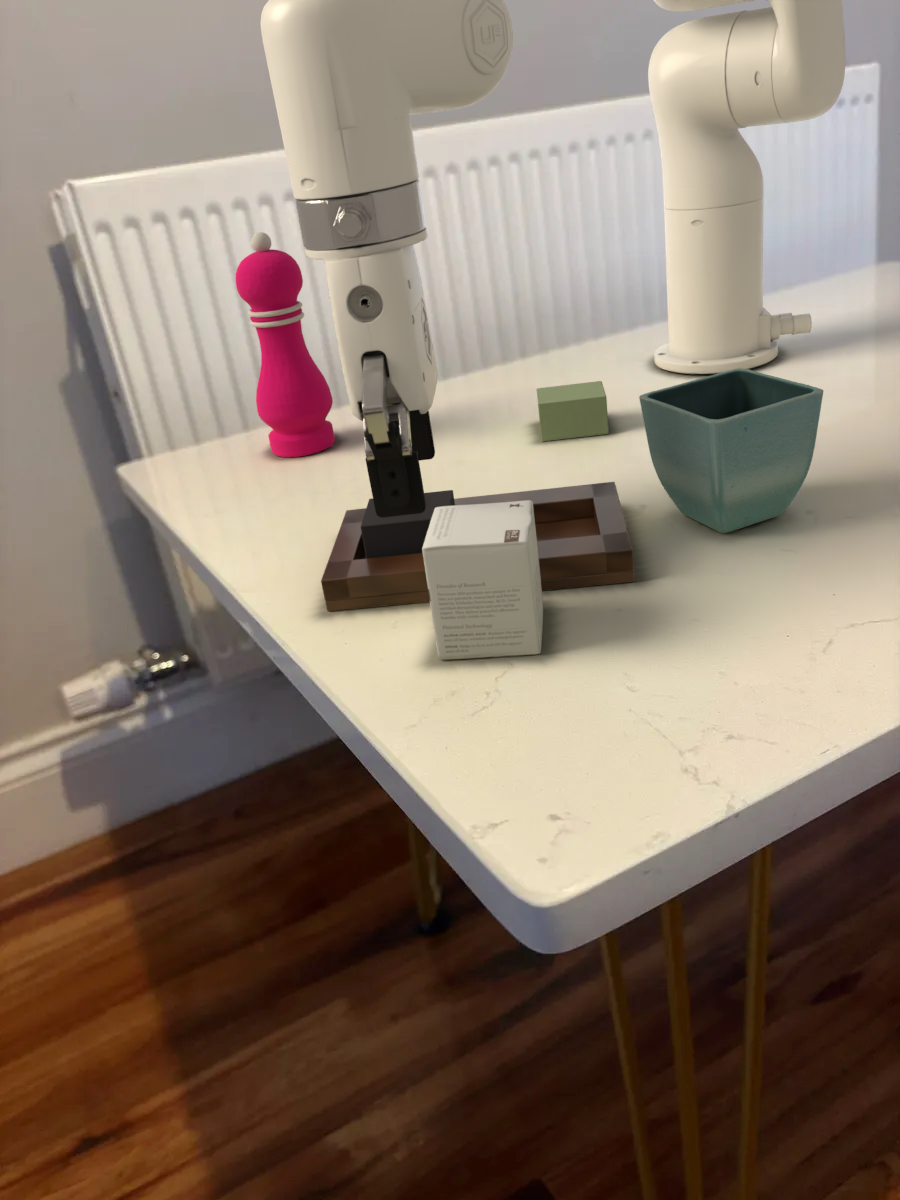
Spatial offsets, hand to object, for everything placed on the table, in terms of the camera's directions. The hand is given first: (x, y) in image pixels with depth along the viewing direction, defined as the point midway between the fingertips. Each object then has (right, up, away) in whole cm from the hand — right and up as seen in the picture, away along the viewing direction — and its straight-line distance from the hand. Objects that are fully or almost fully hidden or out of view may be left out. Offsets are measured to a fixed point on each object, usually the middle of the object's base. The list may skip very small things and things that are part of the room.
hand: (408, 485), depth 70 cm
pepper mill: (-11, +7, +30) cm, 33 cm away
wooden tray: (+5, -5, +2) cm, 7 cm away
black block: (0, -5, +2) cm, 5 cm away
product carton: (+5, -10, -8) cm, 14 cm away
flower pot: (+23, -2, +3) cm, 23 cm away
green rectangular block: (+14, +8, +24) cm, 29 cm away
